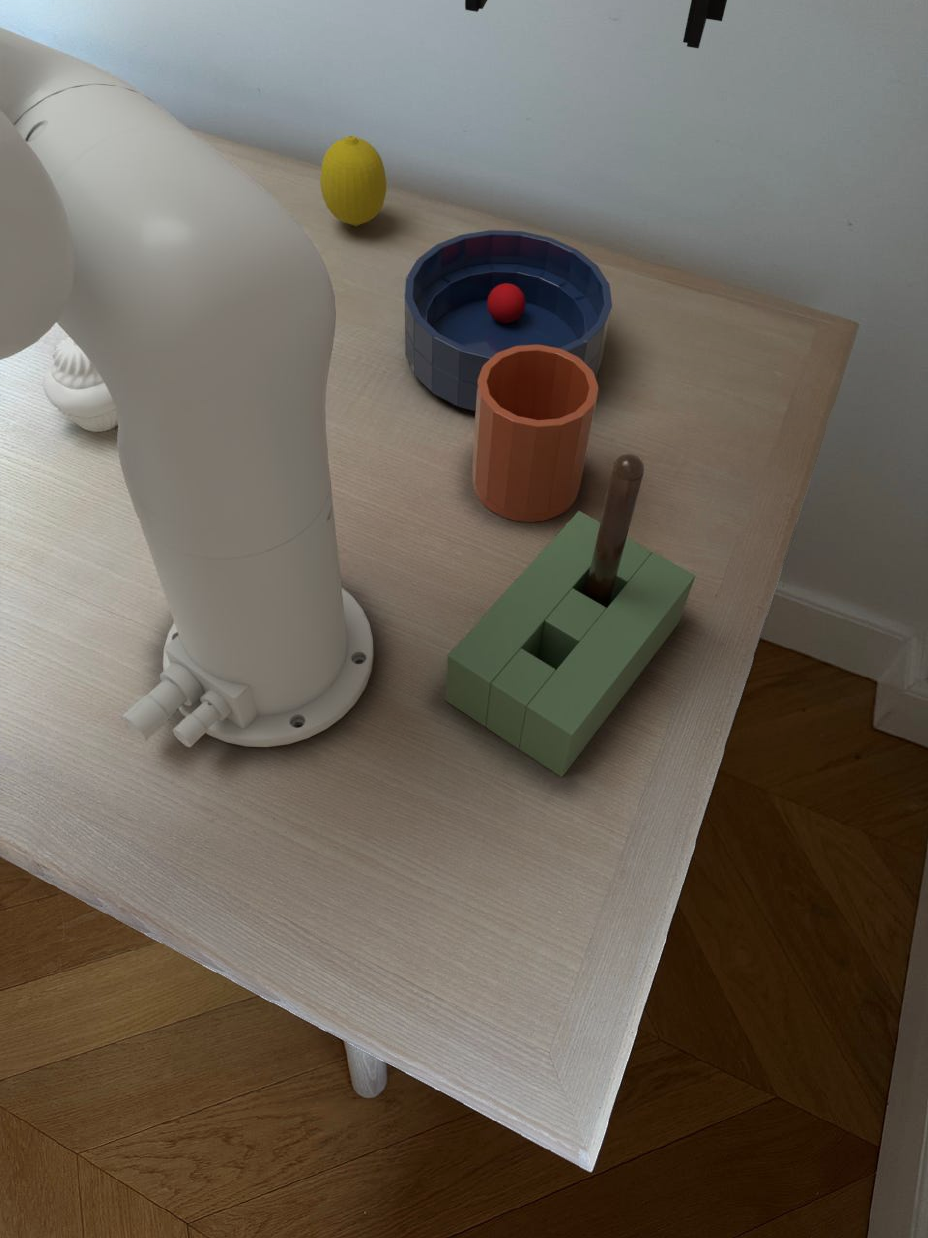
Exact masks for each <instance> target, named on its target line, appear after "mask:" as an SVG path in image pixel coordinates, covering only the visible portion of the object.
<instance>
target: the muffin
mask: <svg viewBox="0 0 928 1238" xmlns="http://www.w3.org/2000/svg"><path fill="white" fill-rule="evenodd" d="M53 350H54V352H53V353H52V358H53V359H52V361H51V363H50V364H49V365H48V367H47V369H46V371H45V372H44V375H43V379H42V388H43V393H44V395H45V396H46V398H47V400H48V401H49V402H50V404H51V405H53V406H54V407H55V408H56V409H57V411H58V412H60V413H61V414H62V415H63V416H65V417H66V418H68V419H69V420H71V421H72V422H73V423H75V424H77V425H78V426H79V427H81V428H82V429H84V430H86V431H90V432H92V433H93V432H95V433H101V432H107V431H111V430H112V429H115V428H116V427H118V416H117V411H116V407H115V404H114V402H113V399H112V397H111V395H110V393H109V391H108V389H107V387H106V385H105V383H104V381H103V380H102V378H101V376H100V375H99V373H98V372H97V370H96V369H95V367H94V366H93V365H92V363H91V362H90V360H89V359H88V358H87V356H86V355H85V354H84V352H83V351H82V350H81V349H80V348H79V346H78V345H77V344H76V343H75V342H74V341H73V340H72V339H71V338H70V336H69V335H67V336H66V337H65V339H60V340H59V343H58V344H56V345H55V346H54V349H53Z"/></svg>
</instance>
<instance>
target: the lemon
mask: <svg viewBox="0 0 928 1238" xmlns="http://www.w3.org/2000/svg"><path fill="white" fill-rule="evenodd" d="M319 180H320V190H321V195H322V198H323V201H324V203H325V206H326V208H327V209H328V210H329V212H330V213H331V214H332V215H333V216H334V218H336V219H338V220H339V221H340V222H342V223H345V224H348V225H352V226H353V227H359V226H360V225H362V224H365V223H368V222H370V221H371V220H373V219H374V218H375V217H376V216H377V215H378V214H379V212H380V211H381V210H382V208H383V206H384V202H385V198H386V195H387V176H386V171H385V167H384V163H383V160H382V157H381V156H380V153H379V152H378V150H377V149H376V148H375V147H374V146H373V145H372V144H371V143H369V142H368V141H367V140H365V139H362V138H360V137H357V136H354V135H347V136H346V137H343V138H340V139H338V140H336V141H335V142H334V143H332V144H331V145H330V147H328V149H327V151H326V152H325V154H324V156H323V159H322V163H321V169H320V179H319Z"/></svg>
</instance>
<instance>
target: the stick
mask: <svg viewBox="0 0 928 1238" xmlns="http://www.w3.org/2000/svg"><path fill="white" fill-rule="evenodd" d="M644 472H645V465H644V462H643V461H642V459H641V458H640V457H639V456H638V455H636V454H633V453H624V454H622V455H620V456H618V457H617V458H616V459H615V461H614V463H613V465H612V470H611V474H610V478H609V482H608V487H607V492H606V497H605V500H604V505H603V508H602V509H603V510H602V514H601V518H600V521H599V522H600V527H599V531H598V536H597V540H596V545H595V549H594V554H593V558H592V562H591V567H590V571H589V576H588V580H587V585H586V589H585V594H584V595H585V596H587V597H589V598H590V599H592V600H594V601H595V602H597V603H599V604H601V605H602V606H604V607H606V609H607V607H608V606H609V603H610V600H611V596H612V592H613V588H614V584H615V581H616V577H617V573H618V569H619V565H620V561H621V558H622V554H623V550H624V546H625V542H626V538H628V534H629V530H630V527H631V523H632V519H633V515H634V511H635V507H636V503H637V500H638V496H639V492H640V489H641V484H642V480H643V477H644V474H645V473H644Z"/></svg>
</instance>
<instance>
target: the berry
mask: <svg viewBox="0 0 928 1238" xmlns="http://www.w3.org/2000/svg"><path fill="white" fill-rule="evenodd" d="M487 306H488V310H489V313H490V315H491V316H492V317H493V318H494V319H495V320H496V321H498V322H501V323H511V322H514V321H516V320H517V319H518V318H520V316H521V315H522V314H523V312H524V309H525V297H524V294H523V292H522V291H521V290H520V289H519V288H518V287H517V286H515V285H513V284H509V283H504V284H500V285H498V286H496V287H495V288H494V289H493V290H492V291H491V292H490V294H489V297H488V301H487Z"/></svg>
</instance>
